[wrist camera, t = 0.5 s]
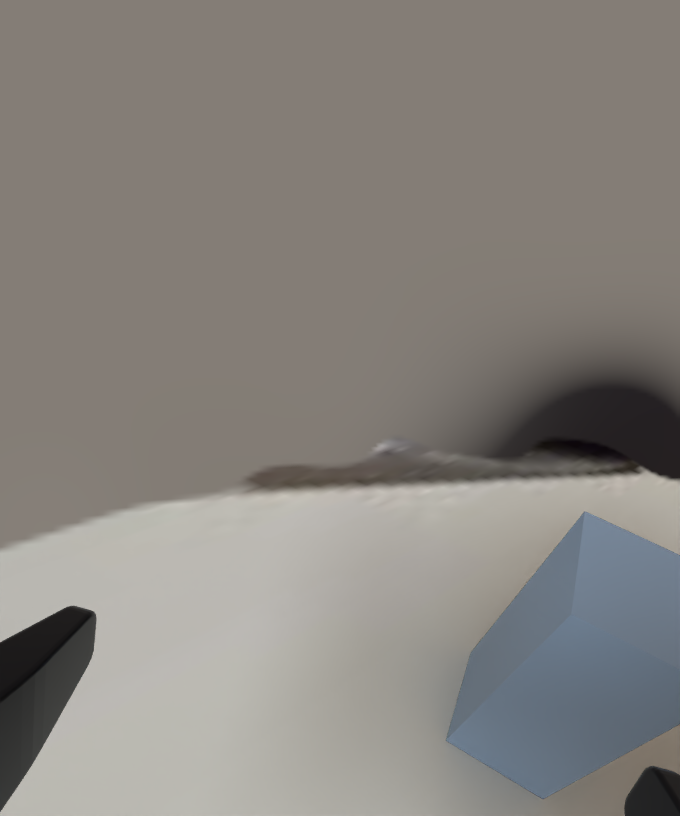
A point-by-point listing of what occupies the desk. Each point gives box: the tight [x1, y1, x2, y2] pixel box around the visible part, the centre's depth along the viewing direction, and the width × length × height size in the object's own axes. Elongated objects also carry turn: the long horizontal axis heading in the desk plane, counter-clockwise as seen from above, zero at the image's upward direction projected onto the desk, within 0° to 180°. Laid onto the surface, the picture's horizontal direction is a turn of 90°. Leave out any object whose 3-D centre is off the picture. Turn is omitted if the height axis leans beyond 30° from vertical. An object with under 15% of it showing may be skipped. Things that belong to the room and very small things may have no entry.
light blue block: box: [446, 512, 680, 799], centre depth 20 cm, size 4×4×12 cm
